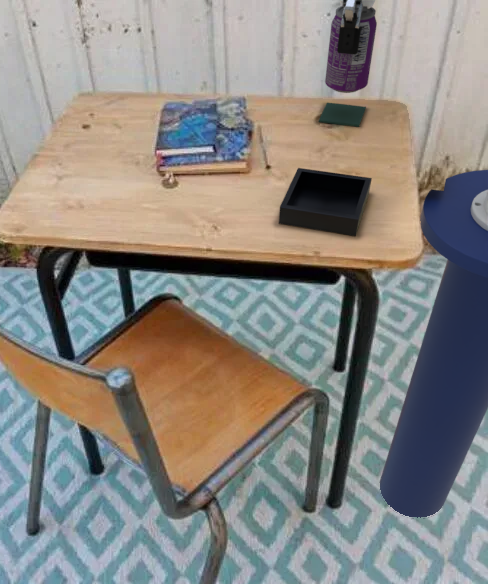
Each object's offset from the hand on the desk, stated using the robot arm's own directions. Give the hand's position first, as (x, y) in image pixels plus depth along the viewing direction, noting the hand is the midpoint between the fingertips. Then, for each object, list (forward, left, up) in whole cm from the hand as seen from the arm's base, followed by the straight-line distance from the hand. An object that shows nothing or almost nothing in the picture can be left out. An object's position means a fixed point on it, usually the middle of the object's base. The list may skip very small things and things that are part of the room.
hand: (351, 42), depth 105 cm
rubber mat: (0, 0, -12) cm, 12 cm away
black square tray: (-3, +30, -12) cm, 32 cm away
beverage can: (0, 0, -7) cm, 7 cm away
